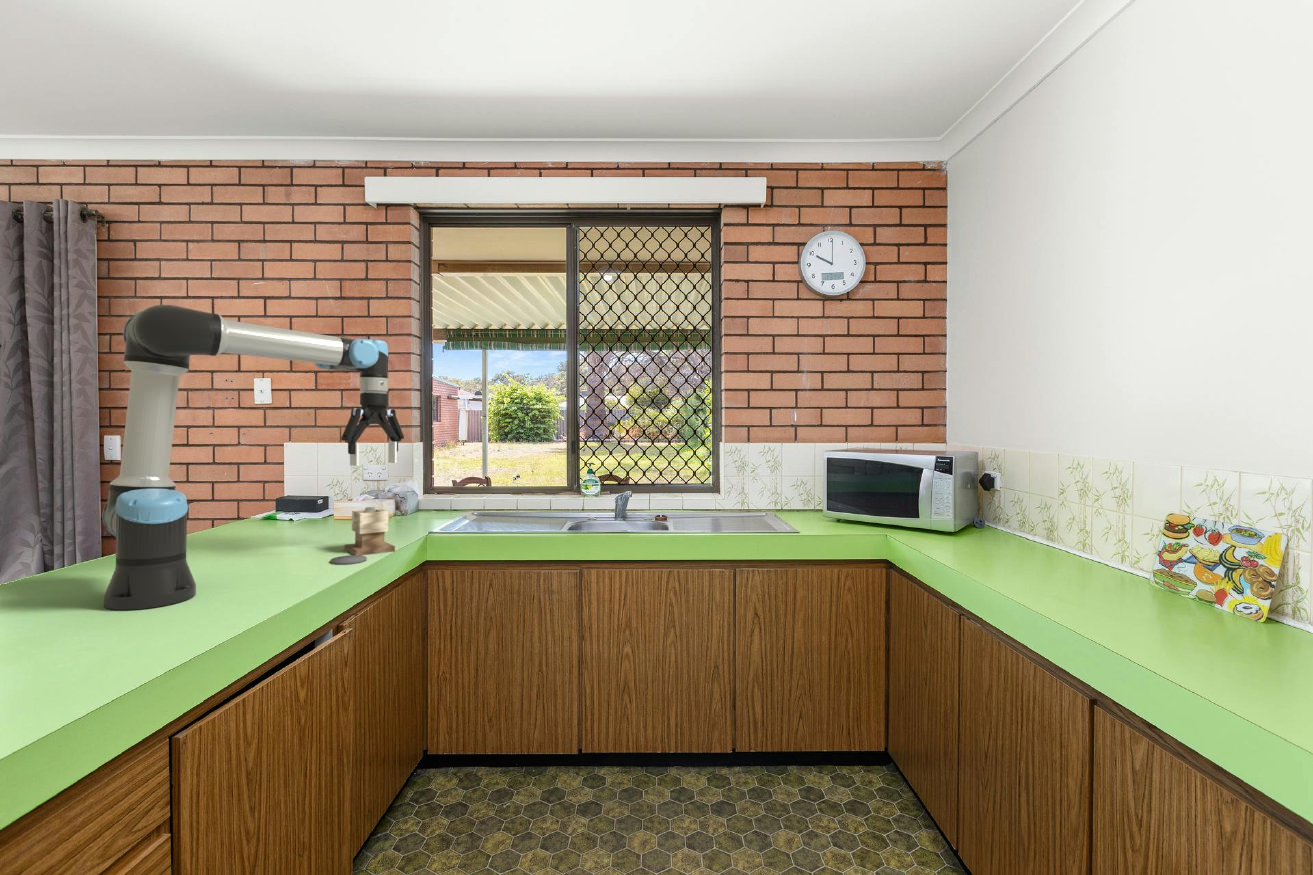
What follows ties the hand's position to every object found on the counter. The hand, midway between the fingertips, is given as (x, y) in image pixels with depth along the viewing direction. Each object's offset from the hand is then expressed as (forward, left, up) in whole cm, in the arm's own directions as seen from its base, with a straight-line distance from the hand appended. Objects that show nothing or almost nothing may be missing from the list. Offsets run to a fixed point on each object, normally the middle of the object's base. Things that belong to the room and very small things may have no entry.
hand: (374, 464), depth 177 cm
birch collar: (+1, +5, -21) cm, 21 cm away
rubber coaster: (-8, -6, -27) cm, 29 cm away
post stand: (+1, +5, -27) cm, 27 cm away
